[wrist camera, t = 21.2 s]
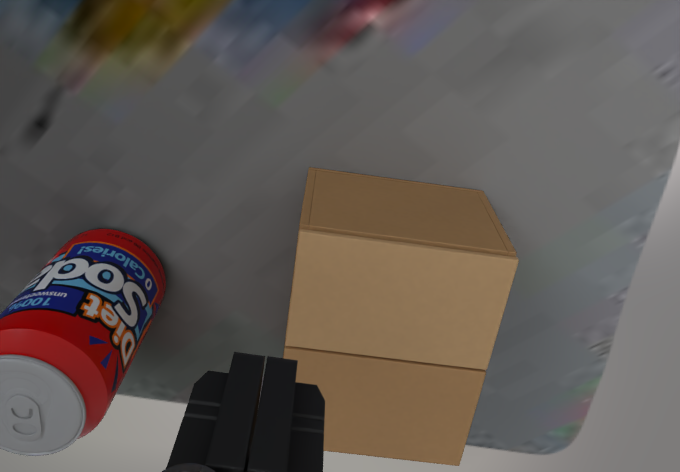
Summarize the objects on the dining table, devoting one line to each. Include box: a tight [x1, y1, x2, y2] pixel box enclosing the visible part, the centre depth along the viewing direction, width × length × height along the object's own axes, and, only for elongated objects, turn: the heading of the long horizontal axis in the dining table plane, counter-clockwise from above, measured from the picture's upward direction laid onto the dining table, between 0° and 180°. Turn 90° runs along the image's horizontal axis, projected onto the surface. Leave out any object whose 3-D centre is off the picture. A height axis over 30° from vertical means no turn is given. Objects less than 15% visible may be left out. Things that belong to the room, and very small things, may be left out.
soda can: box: [0, 229, 166, 456], centre depth 40 cm, size 8×8×15 cm
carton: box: [283, 167, 516, 466], centre depth 42 cm, size 15×12×10 cm
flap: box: [285, 229, 519, 370], centre depth 36 cm, size 7×12×1 cm, turn 82°
